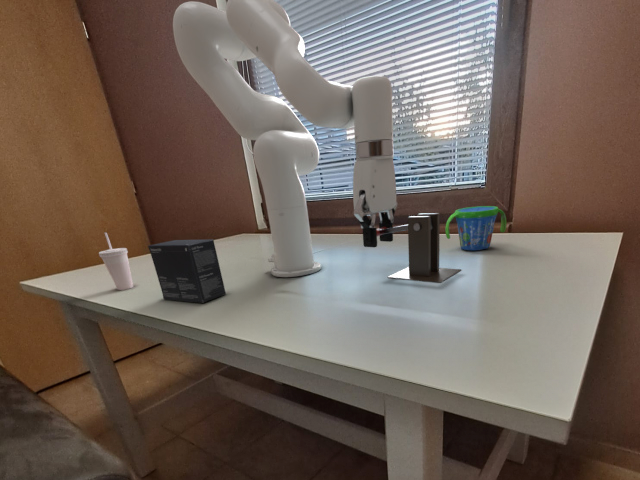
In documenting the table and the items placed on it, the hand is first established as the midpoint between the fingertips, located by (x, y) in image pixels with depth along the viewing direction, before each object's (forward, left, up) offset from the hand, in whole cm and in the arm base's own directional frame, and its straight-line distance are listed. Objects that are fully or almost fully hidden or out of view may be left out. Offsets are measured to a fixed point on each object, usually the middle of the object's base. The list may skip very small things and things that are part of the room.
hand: (378, 243), depth 83 cm
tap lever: (+6, 0, +2) cm, 6 cm away
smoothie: (-58, -32, -7) cm, 67 cm away
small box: (-30, -29, -7) cm, 42 cm away
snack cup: (+10, +31, -7) cm, 33 cm away
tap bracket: (+11, 0, -7) cm, 13 cm away
